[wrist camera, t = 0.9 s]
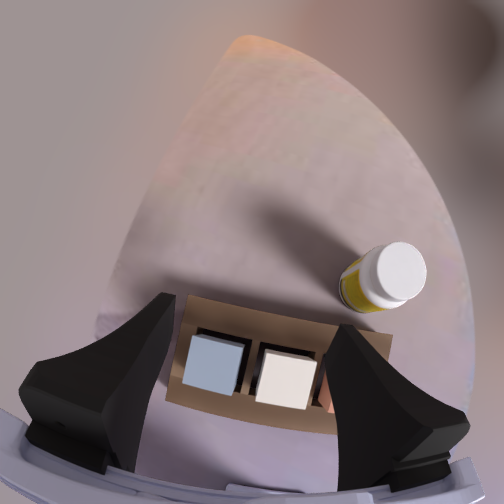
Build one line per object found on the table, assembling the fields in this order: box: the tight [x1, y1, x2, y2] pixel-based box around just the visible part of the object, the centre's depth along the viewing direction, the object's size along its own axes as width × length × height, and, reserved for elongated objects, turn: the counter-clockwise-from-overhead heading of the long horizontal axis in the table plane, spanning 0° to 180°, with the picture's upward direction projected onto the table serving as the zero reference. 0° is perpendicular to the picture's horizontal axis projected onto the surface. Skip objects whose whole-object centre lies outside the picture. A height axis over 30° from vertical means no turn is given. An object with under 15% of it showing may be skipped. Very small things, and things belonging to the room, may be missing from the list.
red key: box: [318, 370, 335, 413], centre depth 20 cm, size 3×3×4 cm
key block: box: [165, 294, 393, 435], centre depth 23 cm, size 9×17×3 cm, turn 77°
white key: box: [255, 349, 317, 410], centre depth 20 cm, size 3×3×4 cm
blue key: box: [182, 334, 245, 396], centre depth 20 cm, size 3×3×4 cm
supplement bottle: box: [339, 242, 426, 313], centre depth 22 cm, size 5×5×8 cm
